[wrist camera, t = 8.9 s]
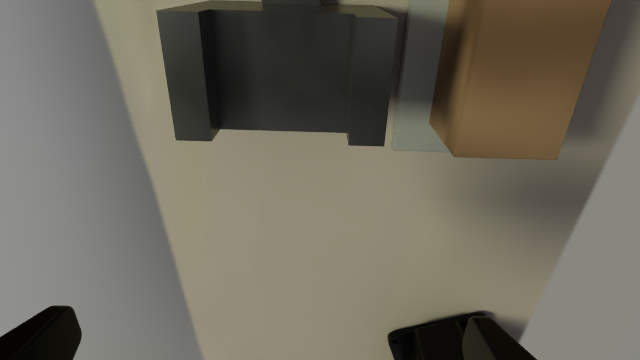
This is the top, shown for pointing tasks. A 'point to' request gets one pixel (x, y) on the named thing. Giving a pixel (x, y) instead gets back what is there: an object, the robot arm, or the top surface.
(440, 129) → the rail
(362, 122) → the rack
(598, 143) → the top surface
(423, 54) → the pad
